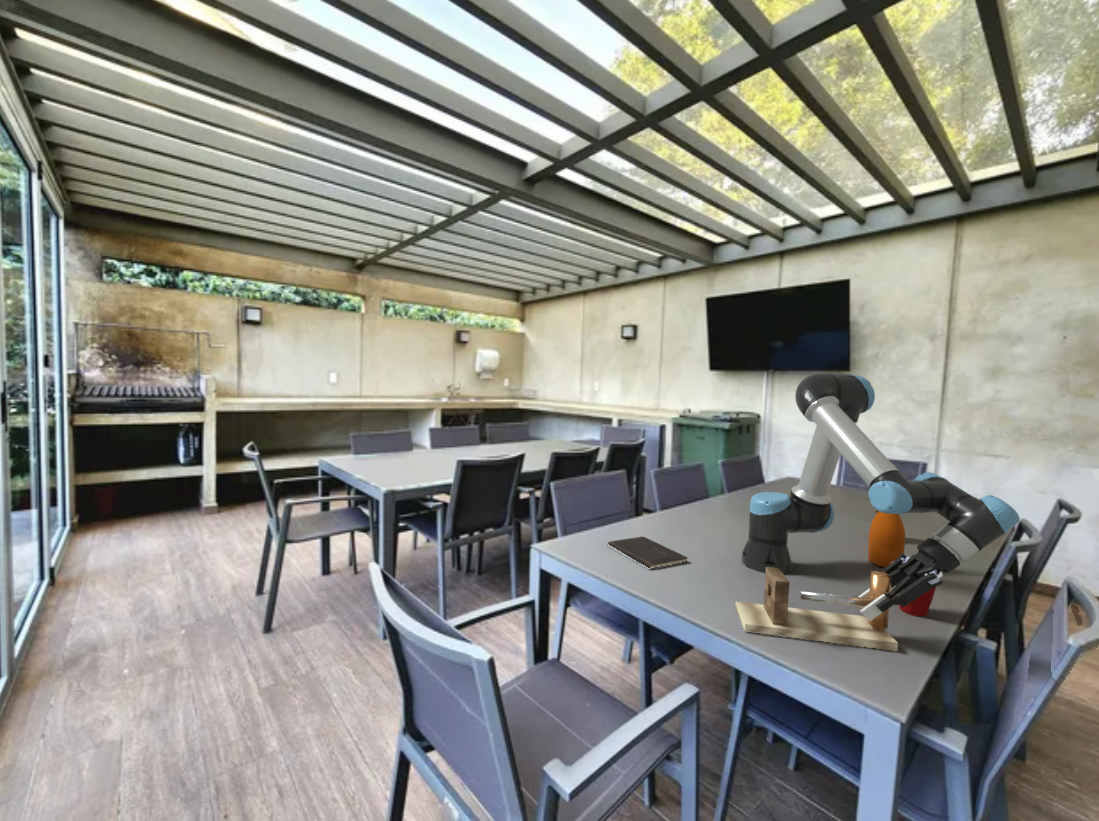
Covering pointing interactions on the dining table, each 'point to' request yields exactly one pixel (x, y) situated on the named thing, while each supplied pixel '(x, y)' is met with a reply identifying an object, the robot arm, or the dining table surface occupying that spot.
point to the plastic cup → (920, 603)
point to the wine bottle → (886, 539)
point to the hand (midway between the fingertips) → (860, 611)
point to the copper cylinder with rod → (878, 586)
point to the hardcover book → (647, 552)
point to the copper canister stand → (807, 619)
